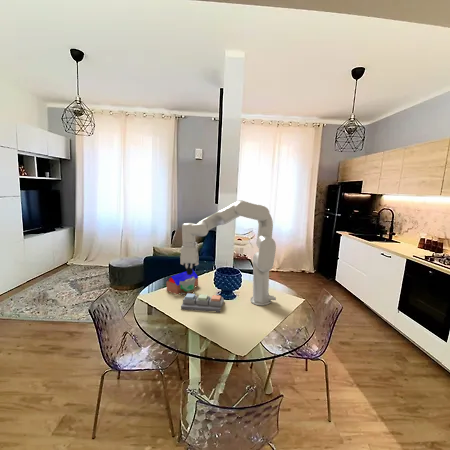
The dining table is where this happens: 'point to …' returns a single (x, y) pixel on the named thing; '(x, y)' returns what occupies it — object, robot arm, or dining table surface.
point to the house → (175, 280)
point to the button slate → (190, 296)
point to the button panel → (202, 304)
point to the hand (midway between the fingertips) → (189, 274)
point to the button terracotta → (216, 298)
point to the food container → (187, 286)
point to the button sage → (203, 297)
